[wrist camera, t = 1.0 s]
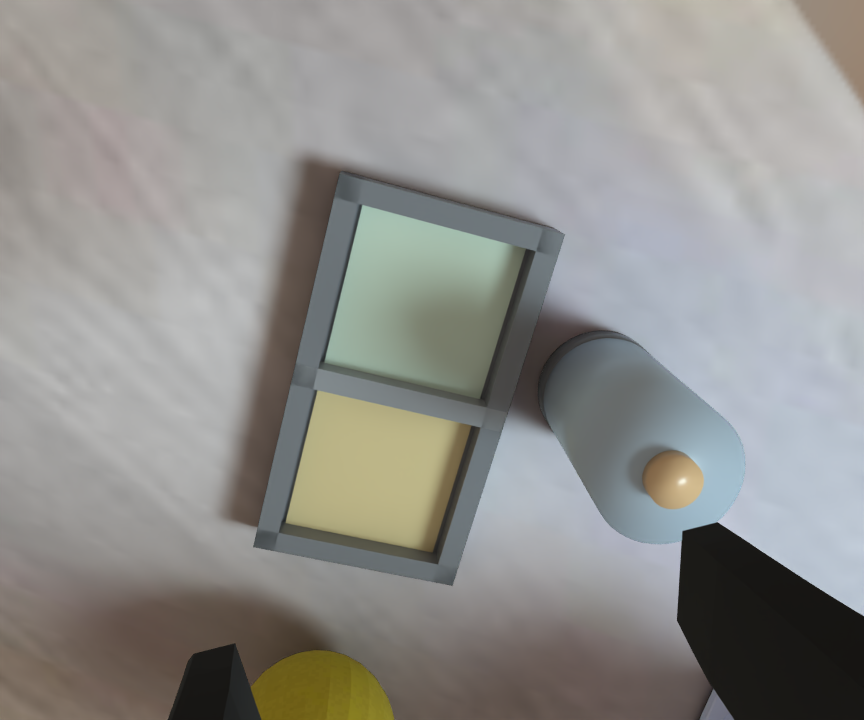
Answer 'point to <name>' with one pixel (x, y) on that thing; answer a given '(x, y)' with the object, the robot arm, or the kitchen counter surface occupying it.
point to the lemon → (320, 689)
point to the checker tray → (403, 379)
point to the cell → (640, 438)
